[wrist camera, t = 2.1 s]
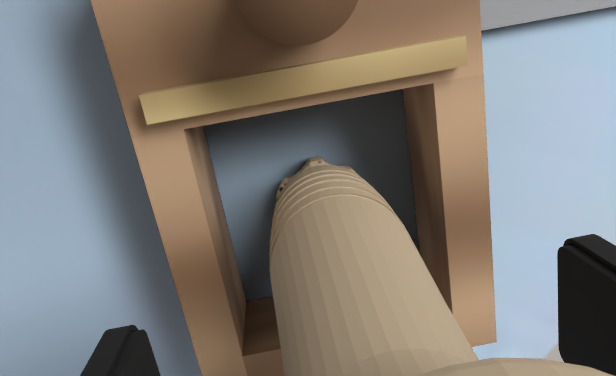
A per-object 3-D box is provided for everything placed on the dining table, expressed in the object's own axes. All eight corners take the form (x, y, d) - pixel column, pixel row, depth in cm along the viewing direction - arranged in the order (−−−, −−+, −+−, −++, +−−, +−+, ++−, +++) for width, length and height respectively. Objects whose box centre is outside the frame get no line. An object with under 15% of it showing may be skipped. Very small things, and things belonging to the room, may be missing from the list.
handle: (234, 251, 19) (141, 926, 5) (284, 95, 17) (383, 404, 3) (347, 281, 20) (564, 927, 5) (406, 135, 18) (946, 526, 4)
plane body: (111, -51, 15) (6, -107, 9) (428, -106, 15) (536, -197, 9) (218, 339, 20) (197, 475, 14) (458, 291, 20) (543, 404, 14)
